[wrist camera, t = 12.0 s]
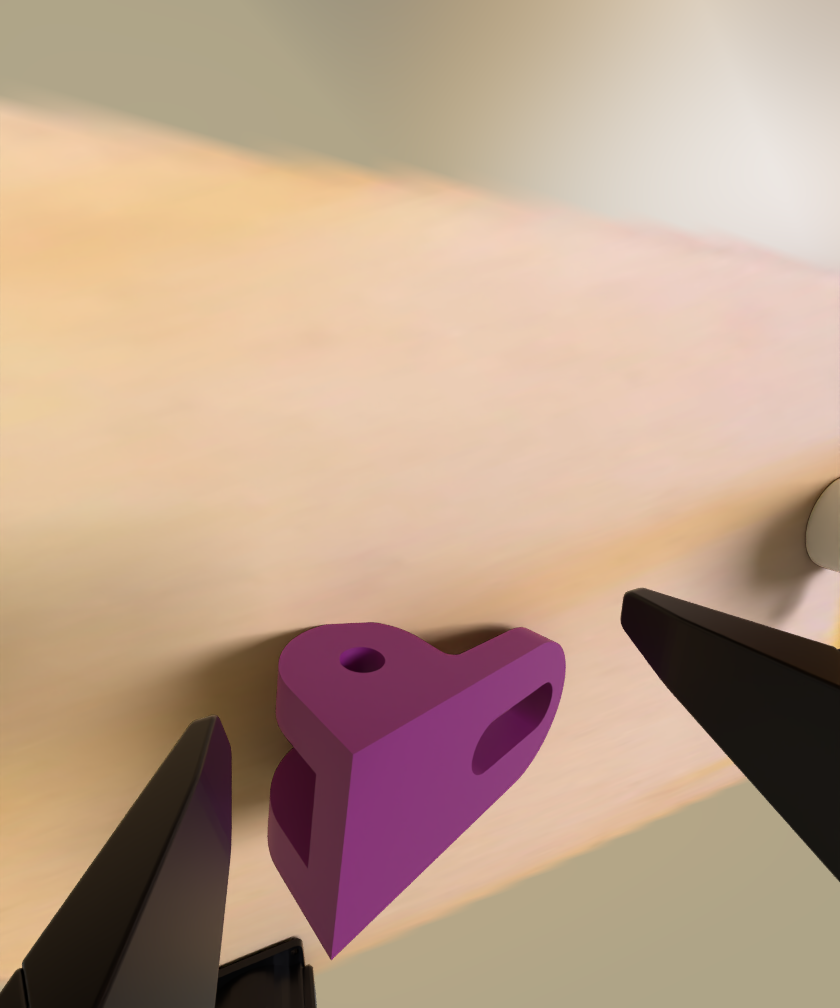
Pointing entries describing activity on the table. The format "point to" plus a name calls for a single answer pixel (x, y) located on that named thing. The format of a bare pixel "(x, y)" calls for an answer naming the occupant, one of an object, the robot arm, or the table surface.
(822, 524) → the mug
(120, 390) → the table surface
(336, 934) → the mounting bracket
